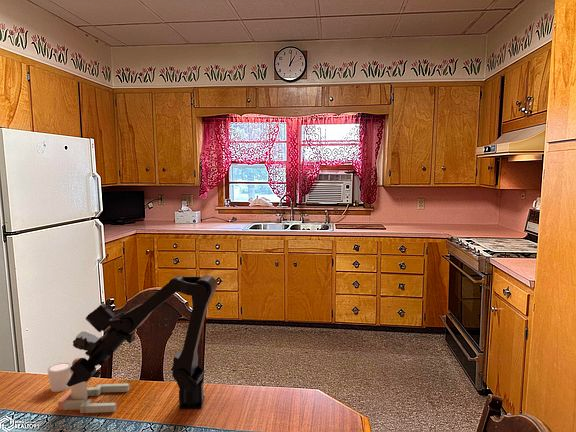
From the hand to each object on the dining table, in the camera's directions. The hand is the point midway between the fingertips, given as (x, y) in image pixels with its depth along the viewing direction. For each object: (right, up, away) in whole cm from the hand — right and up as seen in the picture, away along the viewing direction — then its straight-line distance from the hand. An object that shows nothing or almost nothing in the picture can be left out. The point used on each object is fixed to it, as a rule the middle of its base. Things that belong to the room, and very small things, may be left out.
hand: (75, 377), depth 124 cm
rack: (+6, -7, +1) cm, 9 cm away
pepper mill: (+1, -7, +1) cm, 8 cm away
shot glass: (-10, -7, +9) cm, 15 cm away
